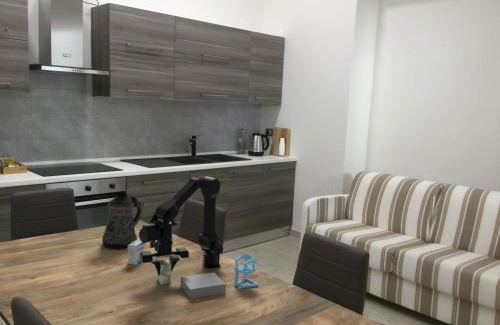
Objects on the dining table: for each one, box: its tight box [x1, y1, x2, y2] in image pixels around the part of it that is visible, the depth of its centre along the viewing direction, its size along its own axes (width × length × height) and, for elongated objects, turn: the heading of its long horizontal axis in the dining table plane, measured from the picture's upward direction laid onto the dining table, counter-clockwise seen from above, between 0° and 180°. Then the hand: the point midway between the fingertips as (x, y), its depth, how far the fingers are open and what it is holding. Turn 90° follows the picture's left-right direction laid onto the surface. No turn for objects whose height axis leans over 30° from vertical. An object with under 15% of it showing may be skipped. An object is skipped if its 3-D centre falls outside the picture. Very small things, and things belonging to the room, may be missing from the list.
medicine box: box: [127, 239, 146, 266], centre depth 195 cm, size 8×4×9 cm, turn 168°
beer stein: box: [101, 193, 144, 251], centre depth 216 cm, size 16×19×25 cm
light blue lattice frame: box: [233, 254, 259, 290], centre depth 175 cm, size 8×8×12 cm
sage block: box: [157, 259, 172, 285], centre depth 175 cm, size 4×5×8 cm
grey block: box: [180, 272, 226, 299], centre depth 170 cm, size 14×12×4 cm
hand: (164, 275), depth 176 cm, fingers closed on sage block, 4 cm apart
